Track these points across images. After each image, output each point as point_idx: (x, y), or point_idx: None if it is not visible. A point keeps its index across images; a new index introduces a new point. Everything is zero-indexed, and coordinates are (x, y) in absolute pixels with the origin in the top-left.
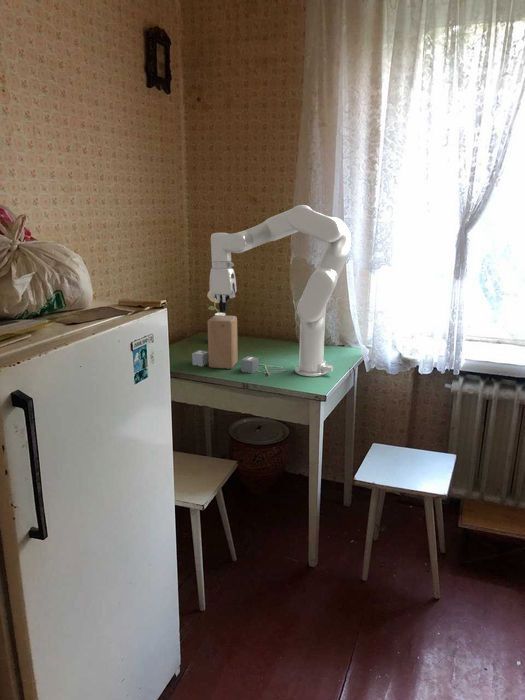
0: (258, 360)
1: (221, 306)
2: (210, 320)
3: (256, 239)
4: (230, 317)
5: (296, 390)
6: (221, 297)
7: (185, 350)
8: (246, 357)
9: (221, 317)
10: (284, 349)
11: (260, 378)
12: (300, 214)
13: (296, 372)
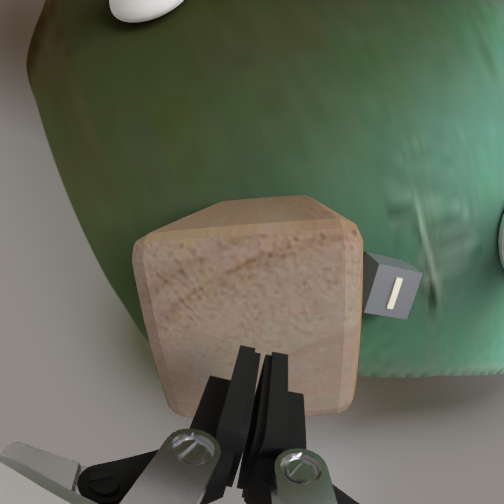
0: (418, 270)
1: (243, 457)
2: (191, 416)
3: None
4: (322, 323)
5: (486, 371)
6: (182, 490)
7: (72, 126)
8: (378, 279)
9: (237, 342)
10: (415, 12)
11: (417, 334)
12: None
13: (501, 262)
